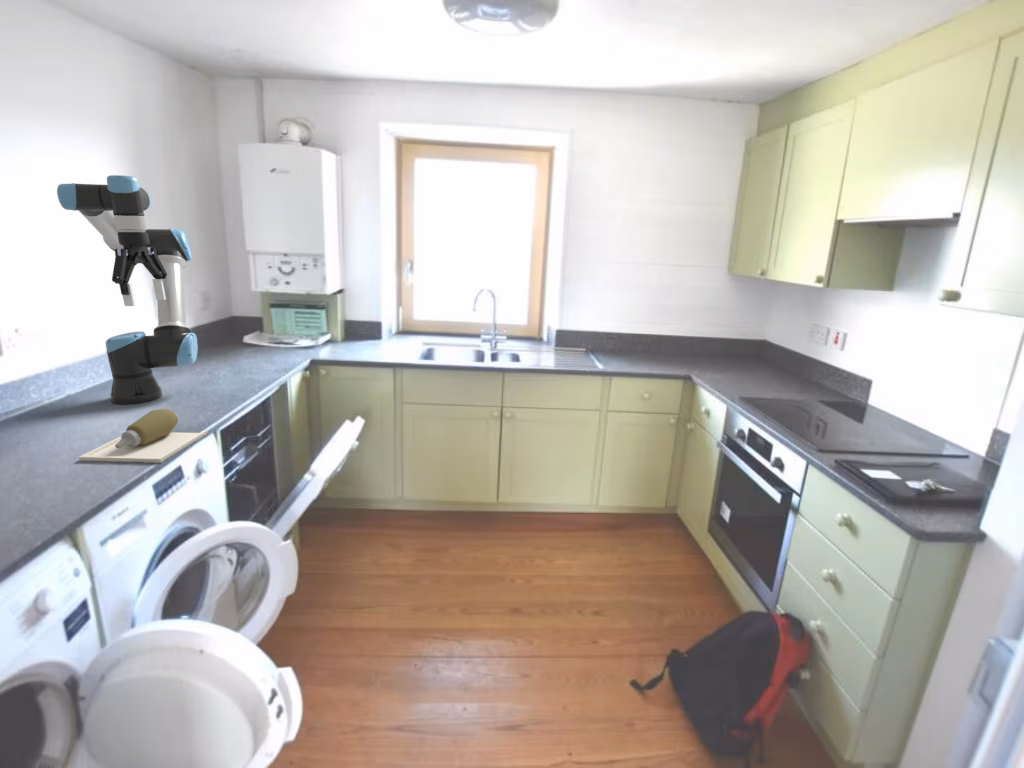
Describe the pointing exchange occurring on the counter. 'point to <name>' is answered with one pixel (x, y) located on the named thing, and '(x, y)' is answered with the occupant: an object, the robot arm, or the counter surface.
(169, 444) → the tray
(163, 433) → the squeeze bottle
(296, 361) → the counter surface
